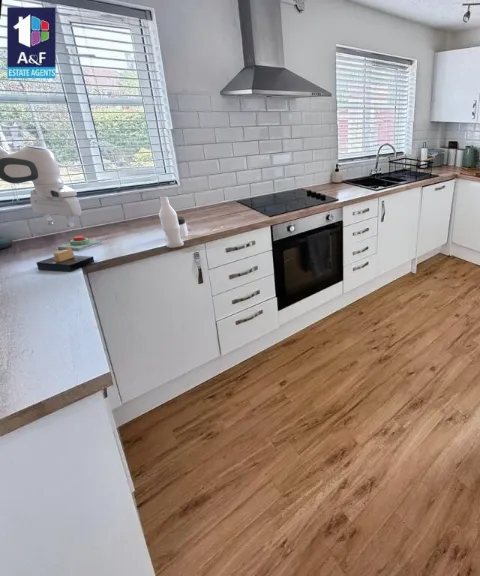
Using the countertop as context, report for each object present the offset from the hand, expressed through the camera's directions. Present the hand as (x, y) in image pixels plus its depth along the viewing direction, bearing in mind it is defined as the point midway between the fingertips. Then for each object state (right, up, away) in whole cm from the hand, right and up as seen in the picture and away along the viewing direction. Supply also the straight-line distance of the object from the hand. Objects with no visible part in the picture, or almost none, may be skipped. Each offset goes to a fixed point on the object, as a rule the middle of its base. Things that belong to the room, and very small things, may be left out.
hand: (61, 225), depth 149 cm
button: (-11, -3, +22) cm, 25 cm away
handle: (+2, -14, -1) cm, 14 cm away
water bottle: (+32, -7, +26) cm, 42 cm away
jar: (+27, -2, +39) cm, 47 cm away
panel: (+2, -16, 0) cm, 17 cm away
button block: (-11, -6, +24) cm, 27 cm away
